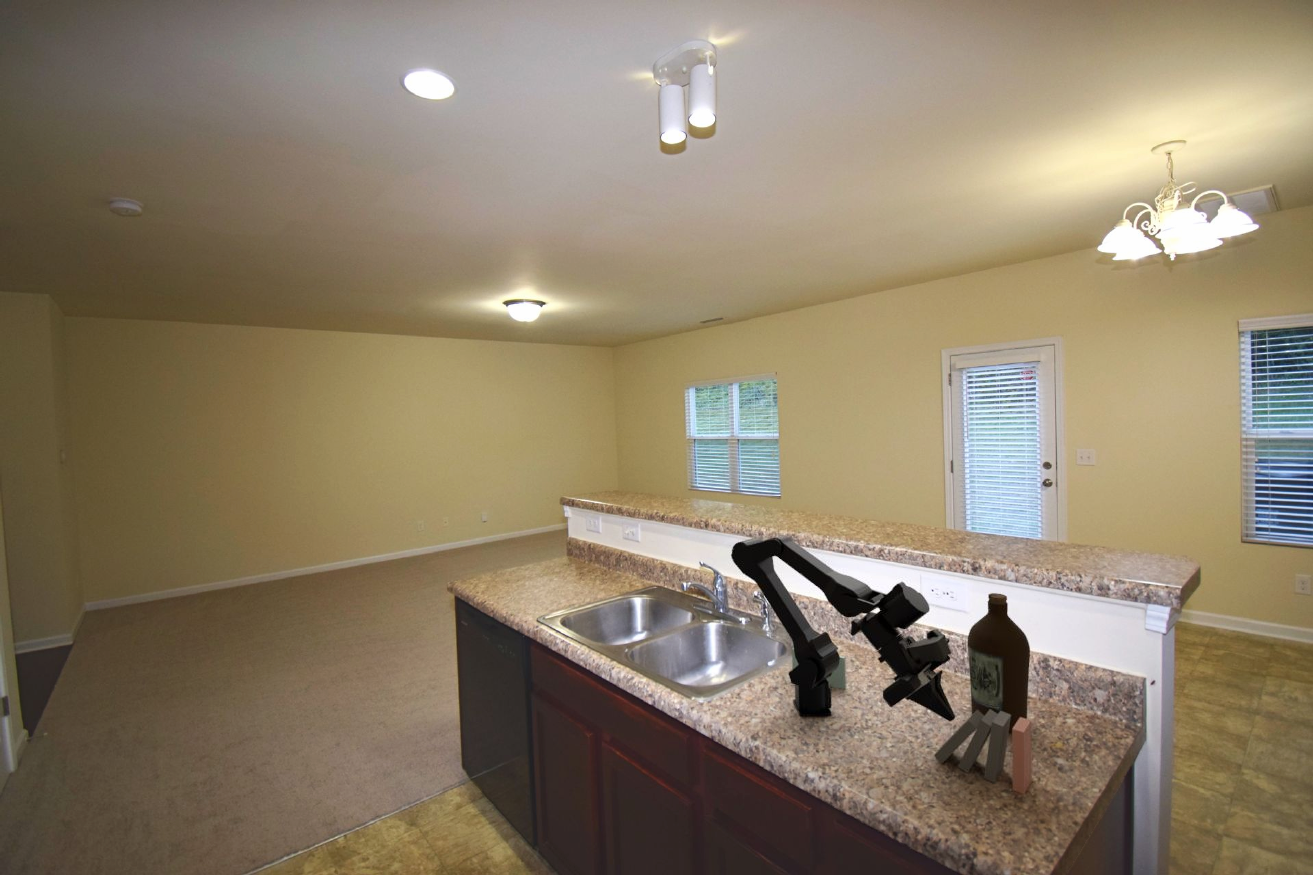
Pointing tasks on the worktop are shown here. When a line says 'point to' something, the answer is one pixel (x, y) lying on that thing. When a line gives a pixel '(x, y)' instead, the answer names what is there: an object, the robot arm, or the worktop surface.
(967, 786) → the worktop surface
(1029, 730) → the domino
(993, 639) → the olive oil
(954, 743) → the domino
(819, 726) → the worktop surface
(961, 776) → the worktop surface
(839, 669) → the right angle wall
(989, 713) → the domino
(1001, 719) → the domino
